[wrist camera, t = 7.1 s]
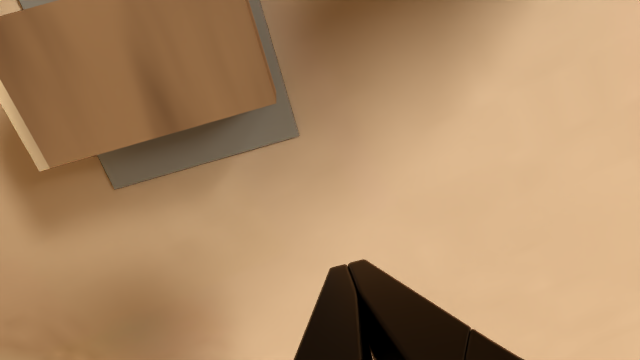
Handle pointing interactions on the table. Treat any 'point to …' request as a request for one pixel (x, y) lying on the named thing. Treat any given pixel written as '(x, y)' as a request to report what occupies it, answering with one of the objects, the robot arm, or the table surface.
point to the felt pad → (204, 130)
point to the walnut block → (126, 72)
